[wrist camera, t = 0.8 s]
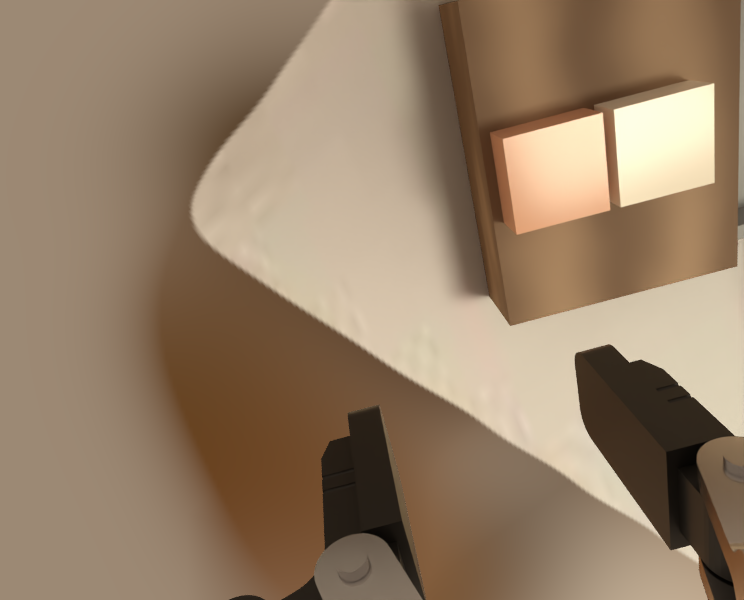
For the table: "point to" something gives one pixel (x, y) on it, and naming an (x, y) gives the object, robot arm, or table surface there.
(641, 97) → the tile
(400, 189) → the table surface
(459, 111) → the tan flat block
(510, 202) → the tile
